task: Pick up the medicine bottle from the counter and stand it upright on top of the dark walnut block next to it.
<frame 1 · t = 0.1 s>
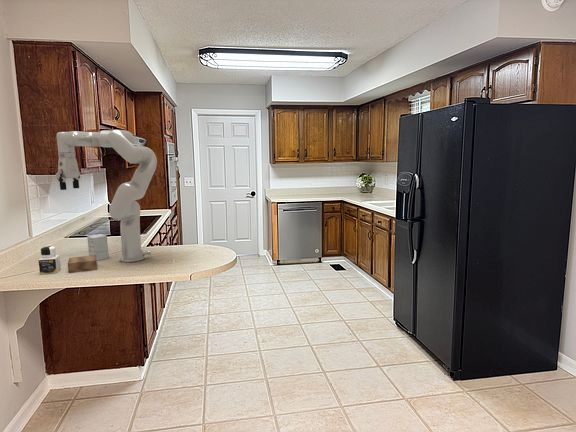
hand: (70, 189, 213), 37 cm above the counter, tool pointing down, fingers open, 9 cm apart
walnut block: (83, 269, 197), on the counter
medicine bottle: (50, 272, 192), on the counter
supplement box: (99, 259, 215), on the counter
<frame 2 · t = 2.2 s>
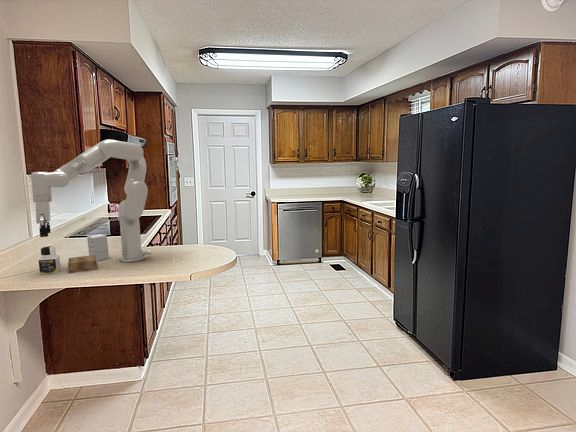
hand: (45, 234, 189), 18 cm above the counter, tool pointing down, fingers open, 9 cm apart
nothing on the counter moved.
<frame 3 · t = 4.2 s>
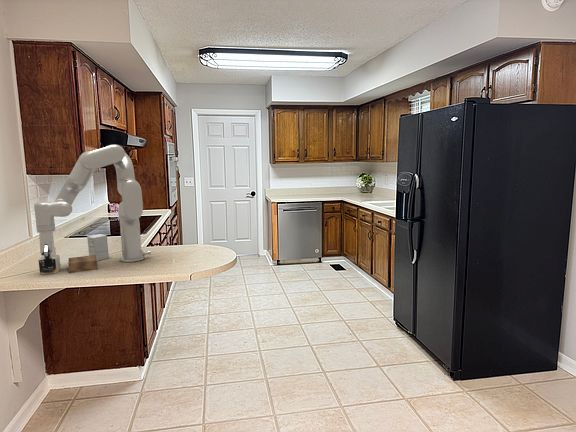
hand: (49, 264, 192), 3 cm above the counter, tool pointing down, fingers closed on medicine bottle, 7 cm apart
medicine bottle: (50, 272, 192), on the counter, touching gripper
everything else where it was.
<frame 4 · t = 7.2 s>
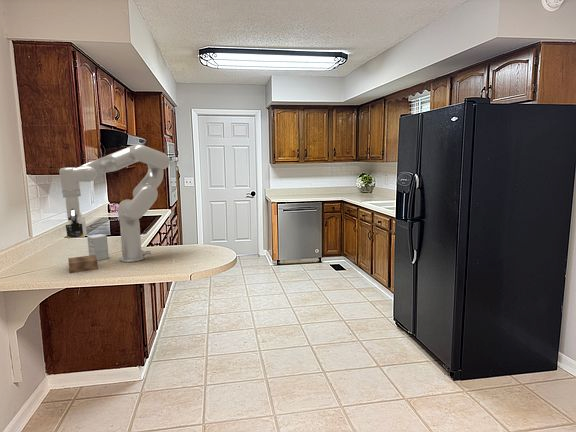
hand: (76, 229, 194), 19 cm above the counter, tool pointing down, fingers closed on medicine bottle, 7 cm apart
medicine bottle: (77, 237, 195), point 16 cm above the counter, touching gripper
everything else where it was.
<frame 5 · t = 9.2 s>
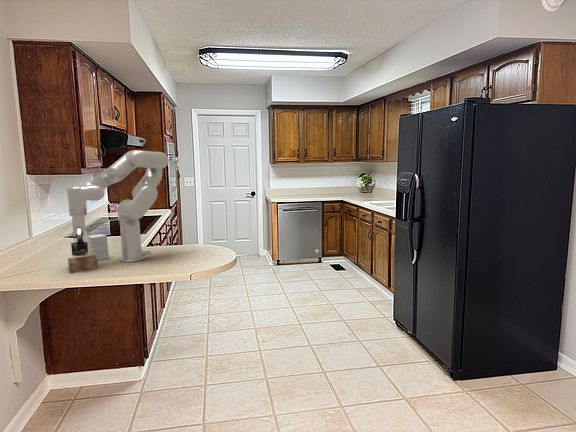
hand: (81, 247, 196), 10 cm above the counter, tool pointing down, fingers closed on medicine bottle, 7 cm apart
medicine bottle: (82, 255, 196), point 7 cm above the counter, touching gripper
everything else where it was.
when the fingers open (10 cm above the counter, at t = 10.3 s): medicine bottle drops 2 cm, resting on walnut block.
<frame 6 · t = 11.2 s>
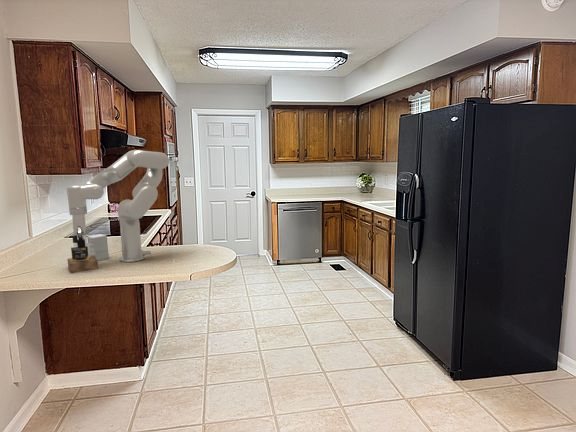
hand: (82, 246, 196), 11 cm above the counter, tool pointing down, fingers open, 9 cm apart
walnut block: (83, 269, 197), on the counter, touching medicine bottle
medicine bottle: (81, 259, 196), point 4 cm above the counter, touching walnut block
everything else where it was.
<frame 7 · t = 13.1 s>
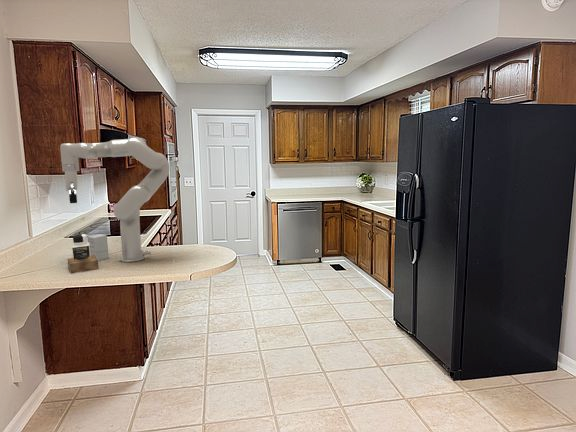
hand: (73, 202, 205), 31 cm above the counter, tool pointing down, fingers open, 9 cm apart
nothing on the counter moved.
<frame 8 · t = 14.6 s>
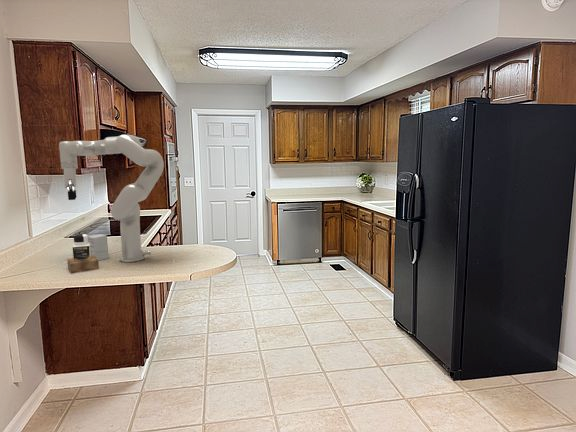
hand: (72, 198, 210), 32 cm above the counter, tool pointing down, fingers open, 9 cm apart
walnut block: (83, 269, 197), on the counter
medicine bottle: (82, 259, 197), point 4 cm above the counter
everything else where it was.
at the end: medicine bottle inside the target area on the walnut block (0.6 cm from its centre), point 4.9 cm above the walnut block's base; medicine bottle tilted 1°; medicine bottle touching walnut block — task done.
